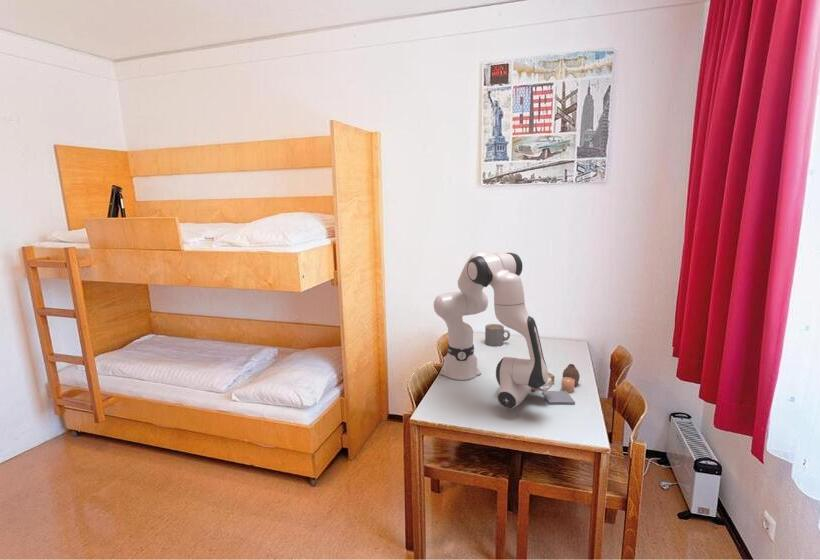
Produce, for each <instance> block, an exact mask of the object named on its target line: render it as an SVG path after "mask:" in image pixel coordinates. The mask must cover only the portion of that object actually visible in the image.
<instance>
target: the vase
mask: <svg viewBox="0 0 820 560" xmlns="http://www.w3.org/2000/svg"><path fill="white" fill-rule="evenodd" d="M563 377H571V378H573V379H574V380H575V384H574V387H575V386H577V385H578V383H579V382H580V378H581V377H580V372H579V371H578V368H577V367H576V366H575V364H573V363H569V364H568V365H567V367H565V369H564V370H563V372H562V378H563Z"/></svg>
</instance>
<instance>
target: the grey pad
mask: <svg viewBox="0 0 820 560" xmlns="http://www.w3.org/2000/svg"><path fill="white" fill-rule="evenodd" d="M541 394H542V395H544V396H543V397H544V399H545V400H546V401H547V403H548V405H551V406H554V405H555V406H557V405H559V406H560V405H566V406H567V405H571V406H572V405H576V402H575V400H574V398H573V397H572V395H570V393H568V392H567V391H562V390H547V391H541Z"/></svg>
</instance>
